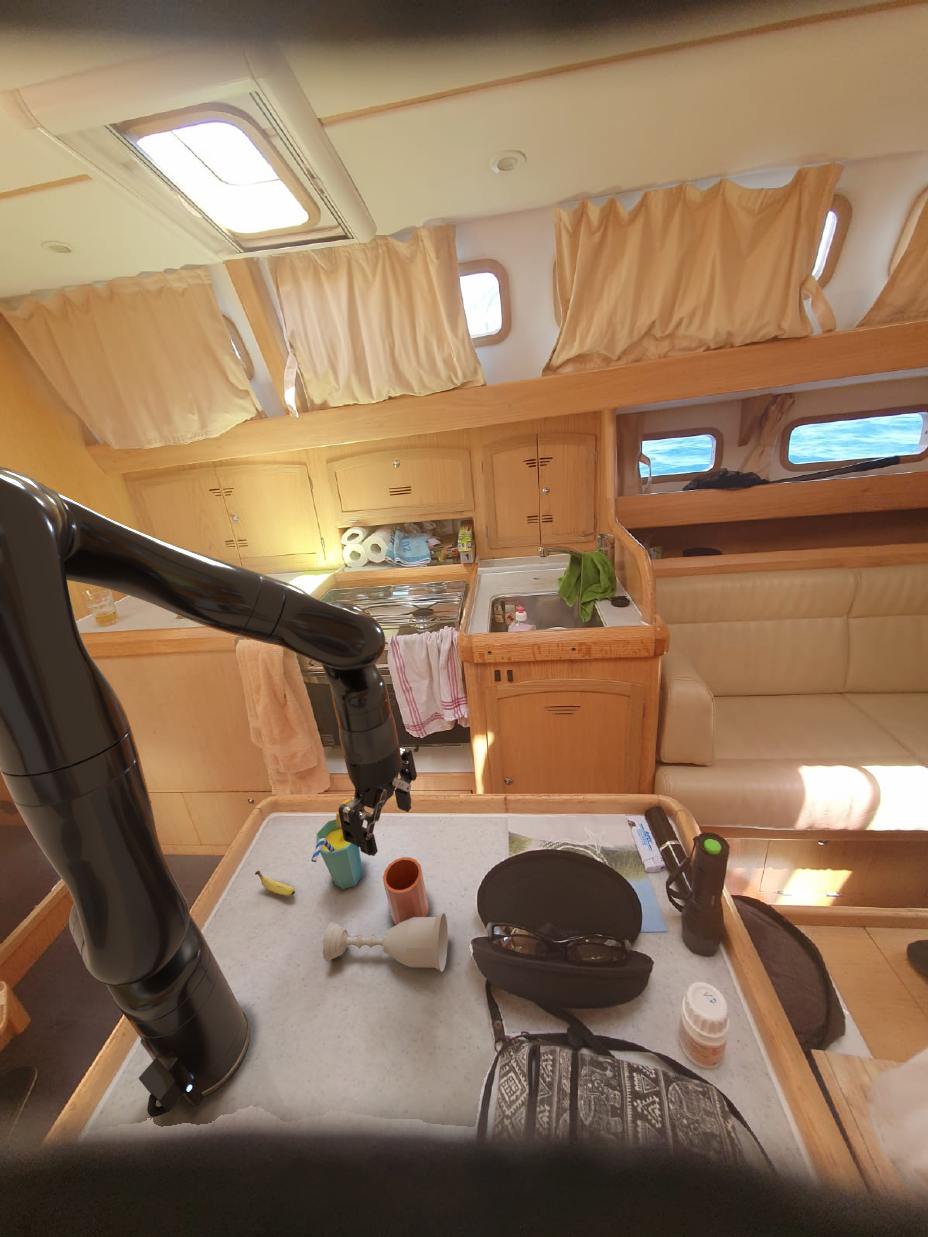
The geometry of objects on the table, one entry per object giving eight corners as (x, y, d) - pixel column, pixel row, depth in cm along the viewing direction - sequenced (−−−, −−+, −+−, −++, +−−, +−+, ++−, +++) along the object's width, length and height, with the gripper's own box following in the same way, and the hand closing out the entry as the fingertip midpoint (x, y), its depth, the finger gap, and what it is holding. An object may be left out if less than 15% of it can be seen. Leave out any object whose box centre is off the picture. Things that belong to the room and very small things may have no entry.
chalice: (329, 978, 69) (444, 980, 66) (315, 959, 65) (436, 960, 63) (343, 925, 75) (449, 925, 72) (331, 905, 71) (441, 904, 69)
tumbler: (415, 936, 72) (407, 899, 68) (384, 919, 75) (375, 883, 71) (435, 901, 77) (428, 865, 73) (405, 887, 80) (397, 852, 76)
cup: (354, 920, 75) (335, 858, 69) (310, 917, 76) (288, 856, 70) (378, 847, 88) (364, 789, 82) (340, 845, 89) (324, 788, 83)
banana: (258, 890, 82) (252, 875, 80) (265, 881, 83) (259, 866, 82) (293, 903, 79) (287, 888, 77) (300, 894, 80) (294, 879, 79)
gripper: (380, 708, 69) (396, 790, 75) (312, 769, 57) (337, 859, 64) (421, 719, 65) (434, 803, 71) (357, 786, 54) (378, 879, 60)
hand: (388, 829), depth 67 cm, fingers open, 8 cm apart
